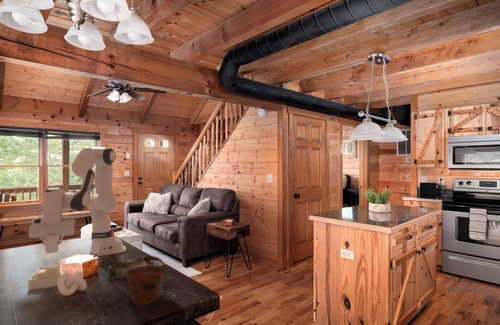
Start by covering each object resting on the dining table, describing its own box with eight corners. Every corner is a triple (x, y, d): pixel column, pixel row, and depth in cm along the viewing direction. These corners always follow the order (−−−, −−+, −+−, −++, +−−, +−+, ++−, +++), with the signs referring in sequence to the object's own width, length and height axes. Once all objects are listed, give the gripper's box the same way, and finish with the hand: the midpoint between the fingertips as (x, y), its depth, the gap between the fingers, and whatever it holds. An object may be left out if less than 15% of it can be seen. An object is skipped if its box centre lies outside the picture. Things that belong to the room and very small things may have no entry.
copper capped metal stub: (58, 249, 159) (59, 232, 159) (56, 252, 154) (56, 234, 154) (48, 250, 157) (48, 232, 157) (45, 253, 153) (45, 235, 152)
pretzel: (61, 288, 145) (61, 270, 144) (89, 284, 149) (89, 267, 149) (55, 298, 134) (55, 278, 134) (85, 294, 138) (85, 275, 138)
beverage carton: (108, 275, 162) (108, 263, 162) (145, 269, 170) (145, 258, 170) (108, 280, 155) (108, 268, 155) (146, 274, 163) (146, 263, 163)
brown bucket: (151, 284, 149) (151, 249, 149) (175, 297, 137) (175, 259, 136) (116, 298, 135) (116, 259, 135) (139, 313, 123) (139, 270, 122)
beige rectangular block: (59, 279, 153) (59, 267, 152) (57, 284, 147) (57, 271, 147) (39, 282, 149) (39, 269, 149) (35, 287, 144) (35, 273, 144)
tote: (69, 273, 163) (69, 264, 163) (62, 286, 147) (62, 276, 146) (39, 276, 158) (39, 267, 158) (28, 290, 141) (28, 280, 141)
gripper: (76, 216, 162) (76, 241, 163) (31, 218, 155) (31, 244, 155) (74, 218, 157) (73, 244, 157) (27, 220, 149) (27, 248, 149)
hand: (52, 244), depth 156 cm, fingers closed on copper capped metal stub, 5 cm apart
